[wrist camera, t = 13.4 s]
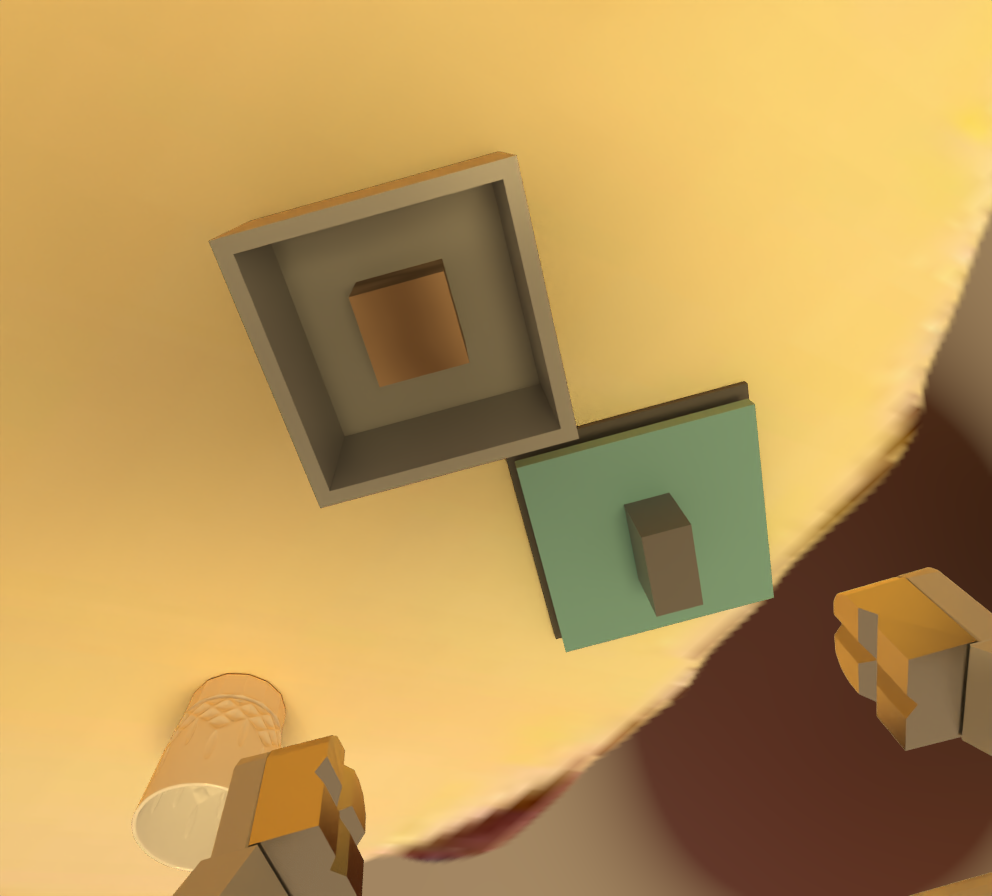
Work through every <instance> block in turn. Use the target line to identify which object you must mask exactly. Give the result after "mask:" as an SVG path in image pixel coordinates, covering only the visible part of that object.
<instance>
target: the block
mask: <svg viewBox="0 0 992 896" xmlns="http://www.w3.org/2000/svg"><path fill="white" fill-rule="evenodd" d="M349 300H350V303H351V306H352V309H353V311H354V314H355V317H356V320H357V323H358V326H359V329H360V332H361V335H362V337H363V340H364V343H365V346H366V349H367V352H368V355H369V358H370V361H371V364H372V366H373V369H374V372H375V375H376V378H377V381H378V384H379V387H383V386H386V385H390V384H394V383H397V382H401V381H405V380H408V379H412V378H416V377H419V376H423V375H427V374H430V373H434V372H438V371H441V370H445V369H449V368H452V367H456V366H460V365H463V364H467V363H469V358H468V352H467V347H466V342H465V339H464V335H463V331H462V328H461V324H460V321H459V317H458V314H457V310H456V306H455V303H454V299H453V296H452V292H451V289H450V285H449V281H448V278H447V274H446V271H445V267H444V264H443V260H442V259H438V260H435V261H431V262H427V263H424V264H420V265H417V266H413V267H409V268H406V269H402V270H398V271H395V272H391V273H388V274H384V275H380V276H377V277H373V278H369V279H366V280H362V281H359V282H356V283H355V285H354V287H353V289H352V291H351V293H350V296H349Z"/></svg>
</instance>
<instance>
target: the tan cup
mask: <svg viewBox="0 0 992 896" xmlns="http://www.w3.org/2000/svg"><path fill="white" fill-rule="evenodd" d="M285 713H286V710H285V706H284V703H283V700H282V696H281V694H280V693H279V692H278V691H277V690H276V689H274V688H273V687H272V686H271V685H270V684H269V683H268V682H266V681H264V680H261V679H259V678H256V677H253V676H251V675H245V674H226V675H223V676H220V677H217V678H214V679H211V680H208V681H207V682H206V683H205V684H204V685H202V686H201V687H200V688H199V689H198V690H197V691H196V692H195V693H194V695H193V697H192V699H191V701H190V703H189V706H188V708H187V710H186V712H185V714H184V716H183V718H182V719H181V721H180V722H179V724H178V726H177V727H176V729H175V731H174V733H173V735H172V737H171V740H170V742H169V743H168V745H167V746H166V748H165V750H164V752H163V755H162V757H161V759H160V761H159V763H158V765H157V767H156V769H155V771H154V773H153V775H152V777H151V780H150V782H149V784H148V786H147V788H146V790H145V792H144V794H143V796H142V798H141V800H140V802H139V804H138V806H137V808H136V810H135V812H134V815H133V818H132V833H133V836H134V839H135V841H136V843H137V844H138V846H139V847H140V848H141V849H142V850H143V851H144V852H145V853H146V854H147V855H148V856H149V857H151V858H152V859H154V860H155V861H157V862H159V863H161V864H163V865H166V866H168V867H171V868H174V869H178V870H182V871H189V872H192V871H193V870H194V869H195V867H196V866H197V865H198V864H199V862H200V861H201V860H205V859H208V858H211V854H212V850H213V847H214V843H215V839H216V835H217V831H218V828H219V824H220V820H221V816H222V812H223V808H224V805H225V801H226V797H227V793H228V789H229V785H230V782H231V778H232V774H233V770H234V768H235V766H236V765H237V763H238V762H239V761H240V759H242V758H246V757H250V756H255V755H259V754H263V753H267V752H271V751H272V750H275V749H279V748H281V734H282V729H283V723H284V718H285Z"/></svg>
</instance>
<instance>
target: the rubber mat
mask: <svg viewBox="0 0 992 896" xmlns="http://www.w3.org/2000/svg"><path fill="white" fill-rule="evenodd" d="M744 399H749V394H748V384H747V383H746V382H745V381H744V382H740V383H737V384H733V385H729V386H725V387H722V388H718V389H714V390H711V391H707V392H703V393H699V394H696V395H692V396H688V397H685V398H681V399H677V400H674V401H670V402H666V403H662V404H659V405H655V406H651V407H648V408H644V409H640V410H636V411H633V412H629V413H625V414H622V415H618V416H614V417H610V418H607V419H603V420H599V421H596V422H592V423H588V424H585V425H581V426H577V431H578V436H579V439H576V440H572V441H568V442H564V443H561V444H557V445H553V446H550V447H546V448H542V449H538V450H535V451H531V452H527V453H524V454H520V455H516V456H512V457H509V458H506V459H507V463H508V466H509V470H510V474H511V477H512V481H513V485H514V488H515V492H516V496H517V499H518V503H519V506H520V510H521V514H522V517H523V521H524V525H525V528H526V532H527V536H528V539H529V543H530V547H531V550H532V554H533V557H534V561H535V565H536V568H537V572H538V576H539V579H540V583H541V587H542V590H543V594H544V598H545V601H546V605H547V608H548V612H549V616H550V619H551V623H552V627H553V630H554V634H555V638H556V639H559V638H562V635H561V632H560V628H559V624H558V621H557V617H556V613H555V609H554V606H553V602H552V598H551V595H550V591H549V587H548V583H547V580H546V576H545V572H544V569H543V565H542V561H541V557H540V554H539V550H538V546H537V542H536V539H535V535H534V531H533V528H532V524H531V520H530V516H529V513H528V509H527V505H526V502H525V498H524V494H523V490H522V487H521V483H520V479H519V476H518V472H517V468H516V464H515V461H518V460H521V459H525V458H529V457H532V456H536V455H540V454H544V453H547V452H551V451H555V450H558V449H562V448H566V447H570V446H573V445H577V444H581V443H584V442H588V441H592V440H596V439H599V438H603V437H607V436H611V435H614V434H618V433H622V432H625V431H629V430H633V429H637V428H640V427H644V426H648V425H651V424H655V423H659V422H663V421H666V420H670V419H674V418H677V417H681V416H685V415H689V414H692V413H696V412H700V411H703V410H707V409H711V408H715V407H718V406H722V405H726V404H729V403H733V402H737V401H741V400H744Z"/></svg>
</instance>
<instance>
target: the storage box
mask: <svg viewBox="0 0 992 896" xmlns="http://www.w3.org/2000/svg"><path fill="white" fill-rule="evenodd" d="M209 243H210V246H211V248H212V250H213V253H214V255H215V258H216V260H217V262H218V265H219V267H220V270H221V272H222V274H223V277H224V279H225V282H226V284H227V286H228V289H229V291H230V293H231V296H232V298H233V301H234V303H235V305H236V308H237V310H238V313H239V315H240V317H241V320H242V322H243V325H244V327H245V329H246V332H247V334H248V337H249V339H250V341H251V344H252V346H253V348H254V351H255V353H256V356H257V358H258V360H259V363H260V365H261V368H262V370H263V372H264V375H265V377H266V380H267V382H268V384H269V387H270V389H271V391H272V394H273V396H274V399H275V401H276V403H277V406H278V408H279V411H280V413H281V415H282V418H283V420H284V423H285V425H286V427H287V430H288V432H289V434H290V437H291V439H292V442H293V444H294V446H295V449H296V451H297V454H298V456H299V458H300V461H301V463H302V466H303V468H304V470H305V473H306V475H307V477H308V480H309V482H310V485H311V487H312V489H313V492H314V494H315V497H316V499H317V501H318V504H319V506H320V508H323V507H327V506H331V505H334V504H338V503H342V502H345V501H349V500H353V499H357V498H360V497H364V496H368V495H371V494H375V493H379V492H383V491H386V490H390V489H394V488H397V487H401V486H405V485H408V484H412V483H416V482H420V481H423V480H427V479H431V478H434V477H438V476H442V475H446V474H449V473H453V472H457V471H460V470H464V469H468V468H472V467H475V466H479V465H483V464H486V463H490V462H494V461H498V460H501V459H505V458H509V457H512V456H516V455H520V454H524V453H527V452H531V451H535V450H538V449H542V448H546V447H550V446H553V445H557V444H561V443H564V442H568V441H572V440H576V439H579V436H578V431H577V427H576V422H575V418H574V413H573V409H572V404H571V400H570V395H569V391H568V386H567V382H566V377H565V373H564V368H563V363H562V359H561V354H560V350H559V345H558V341H557V336H556V332H555V327H554V323H553V318H552V314H551V309H550V305H549V300H548V296H547V291H546V286H545V282H544V277H543V273H542V268H541V264H540V259H539V255H538V250H537V246H536V241H535V237H534V232H533V228H532V223H531V219H530V214H529V209H528V205H527V200H526V196H525V191H524V187H523V182H522V178H521V173H520V169H519V164H518V160H517V155H513V154H508V153H504V152H495V153H492V154H488V155H485V156H481V157H477V158H474V159H470V160H467V161H463V162H459V163H456V164H452V165H449V166H445V167H441V168H438V169H434V170H431V171H427V172H423V173H420V174H416V175H413V176H409V177H406V178H402V179H398V180H395V181H391V182H388V183H384V184H380V185H377V186H373V187H370V188H366V189H362V190H359V191H355V192H352V193H348V194H345V195H341V196H337V197H334V198H330V199H327V200H323V201H319V202H316V203H312V204H309V205H305V206H301V207H298V208H294V209H291V210H287V211H283V212H280V213H276V214H273V215H269V216H266V217H262V218H258V219H255V220H251V221H249V222H247V223H245V224H243V225H241V226H238V227H236V228H234V229H232V230H230V231H228V232H226V233H224V234H222V235H220V236H218V237H216V238H214V239H212V240H209ZM438 259H442V260H443V264H444V267H445V271H446V274H447V278H448V281H449V285H450V289H451V292H452V296H453V299H454V303H455V306H456V310H457V314H458V317H459V321H460V324H461V328H462V331H463V335H464V339H465V342H466V347H467V352H468V358H469V363H467V364H463V365H460V366H456V367H452V368H449V369H445V370H441V371H438V372H434V373H430V374H427V375H423V376H419V377H416V378H412V379H408V380H405V381H401V382H397V383H394V384H390V385H386V386H383V387H379V384H378V381H377V378H376V375H375V372H374V369H373V366H372V364H371V361H370V358H369V355H368V352H367V349H366V346H365V343H364V340H363V337H362V335H361V332H360V329H359V326H358V323H357V320H356V317H355V314H354V311H353V309H352V306H351V303H350V300H349V296H350V293H351V291H352V289H353V287H354V285H355V283H356V282H359V281H362V280H366V279H369V278H373V277H377V276H380V275H384V274H388V273H391V272H395V271H398V270H402V269H406V268H409V267H413V266H417V265H420V264H424V263H427V262H431V261H435V260H438Z"/></svg>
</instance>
